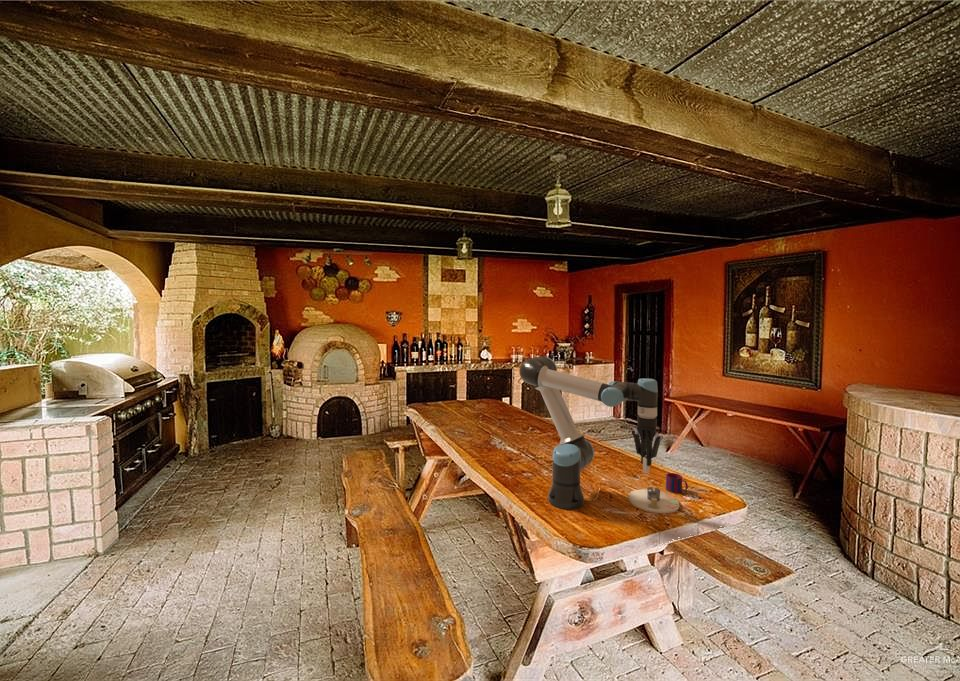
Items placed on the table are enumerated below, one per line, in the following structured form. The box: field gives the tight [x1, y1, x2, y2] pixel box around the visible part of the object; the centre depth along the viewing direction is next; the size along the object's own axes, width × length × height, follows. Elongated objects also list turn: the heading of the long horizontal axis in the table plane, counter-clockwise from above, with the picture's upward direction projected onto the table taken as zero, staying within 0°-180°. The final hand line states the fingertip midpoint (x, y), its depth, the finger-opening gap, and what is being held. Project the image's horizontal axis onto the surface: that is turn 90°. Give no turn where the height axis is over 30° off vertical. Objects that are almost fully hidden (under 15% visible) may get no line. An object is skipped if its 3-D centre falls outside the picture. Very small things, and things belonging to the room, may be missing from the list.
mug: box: [665, 472, 689, 494], centre depth 190 cm, size 7×10×7 cm
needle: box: [646, 486, 661, 508], centre depth 176 cm, size 12×5×4 cm, turn 158°
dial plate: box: [628, 488, 680, 514], centre depth 179 cm, size 20×20×2 cm
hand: (646, 472), depth 174 cm, fingers closed
